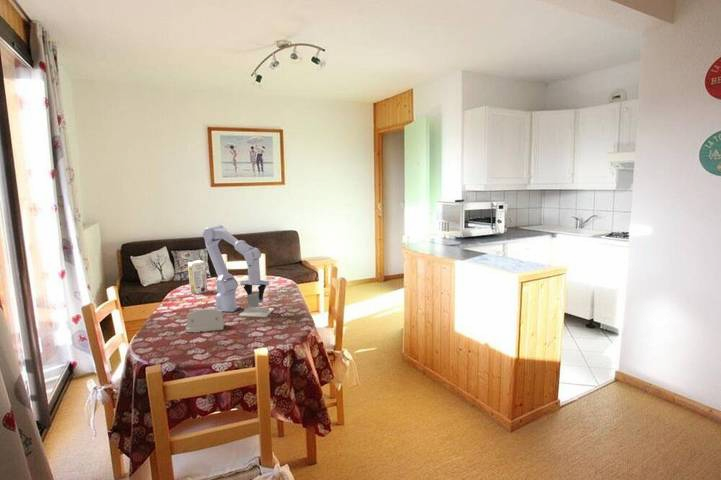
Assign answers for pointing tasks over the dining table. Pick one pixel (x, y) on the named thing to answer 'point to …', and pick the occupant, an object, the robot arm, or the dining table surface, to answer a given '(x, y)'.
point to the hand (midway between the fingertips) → (256, 299)
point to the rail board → (256, 312)
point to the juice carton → (197, 277)
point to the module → (254, 299)
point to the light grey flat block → (205, 320)
